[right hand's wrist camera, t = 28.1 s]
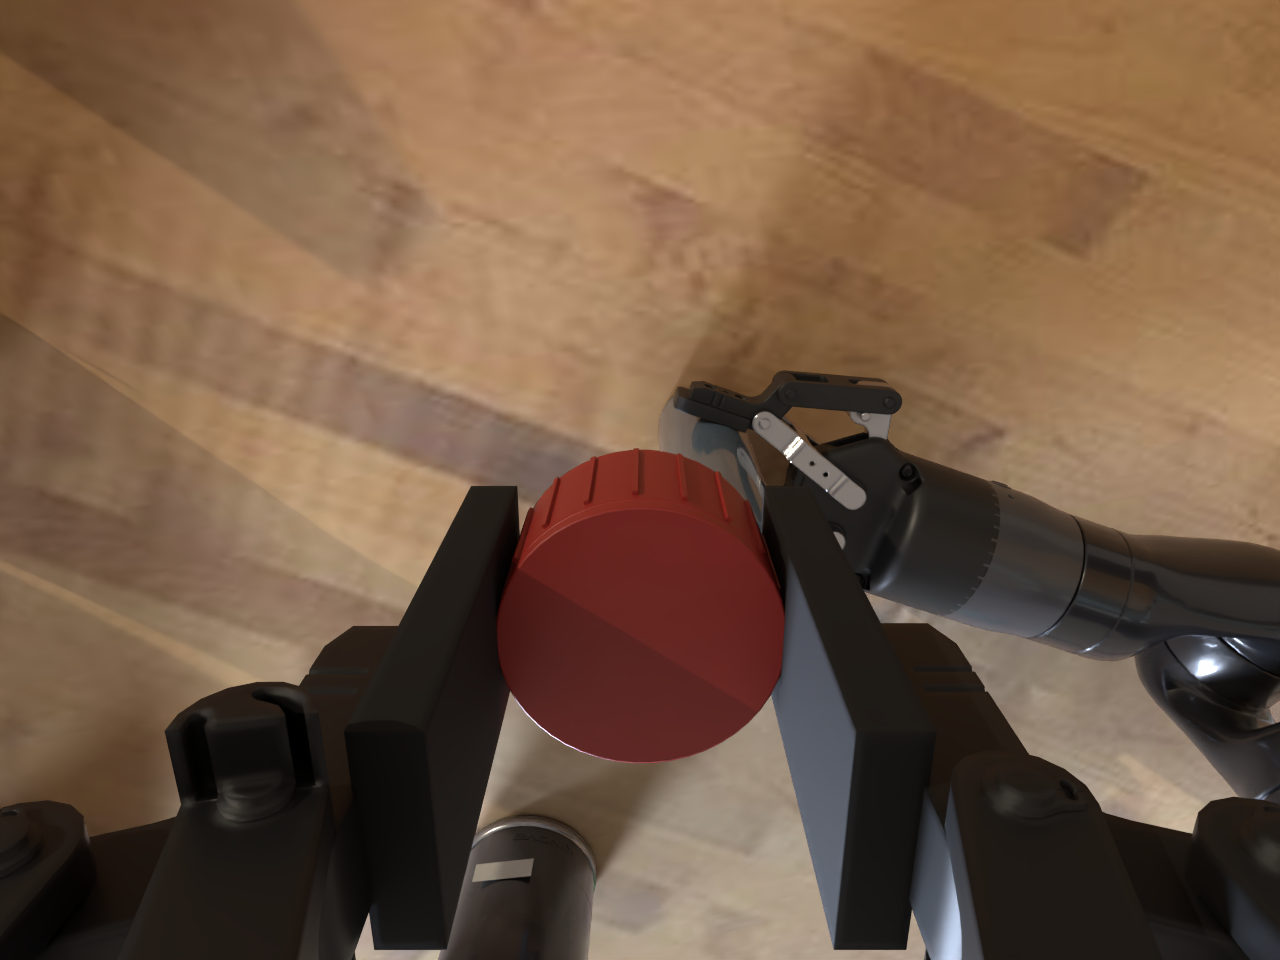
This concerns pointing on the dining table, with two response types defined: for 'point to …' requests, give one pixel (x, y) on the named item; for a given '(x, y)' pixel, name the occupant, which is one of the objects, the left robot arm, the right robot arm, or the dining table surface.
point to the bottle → (714, 451)
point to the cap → (641, 609)
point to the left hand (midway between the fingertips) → (658, 447)
